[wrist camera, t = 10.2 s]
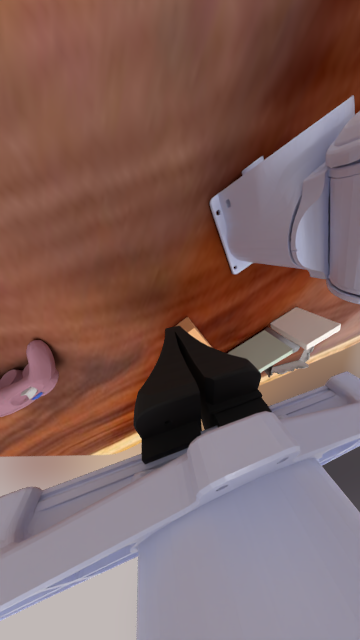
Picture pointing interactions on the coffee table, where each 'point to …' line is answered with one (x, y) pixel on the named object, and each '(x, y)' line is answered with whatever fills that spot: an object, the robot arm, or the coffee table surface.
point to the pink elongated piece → (28, 379)
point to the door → (265, 349)
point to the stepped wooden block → (192, 330)
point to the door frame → (304, 327)
